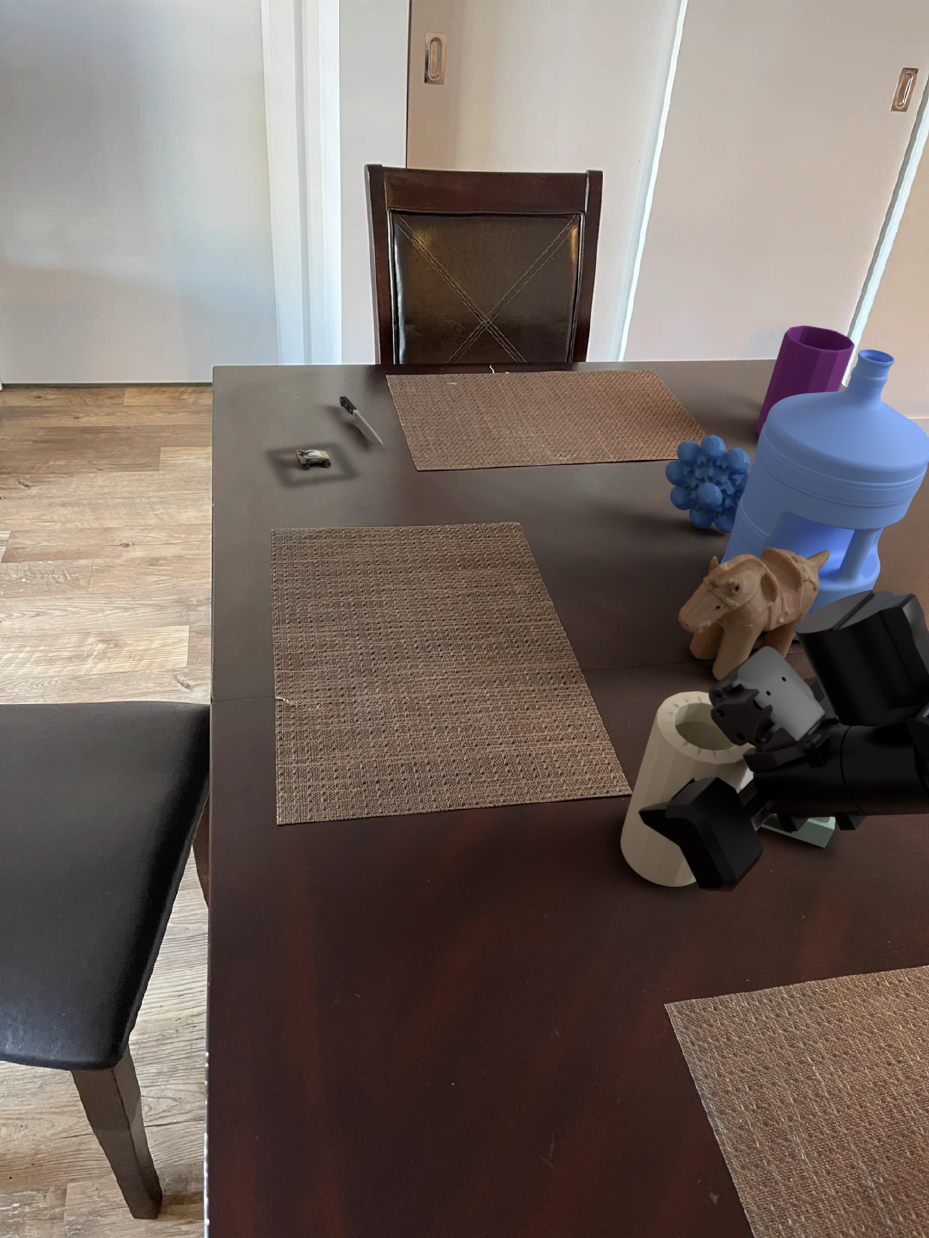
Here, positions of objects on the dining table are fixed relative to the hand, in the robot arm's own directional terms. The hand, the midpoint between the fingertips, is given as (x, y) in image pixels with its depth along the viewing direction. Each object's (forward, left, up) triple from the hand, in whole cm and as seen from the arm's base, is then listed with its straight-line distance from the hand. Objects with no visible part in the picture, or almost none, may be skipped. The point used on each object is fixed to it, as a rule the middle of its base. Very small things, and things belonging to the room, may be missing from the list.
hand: (677, 783), depth 68 cm
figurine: (+4, -25, -7) cm, 26 cm away
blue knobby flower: (+16, -46, -7) cm, 49 cm away
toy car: (+61, -27, -7) cm, 67 cm away
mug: (+17, -81, -7) cm, 83 cm away
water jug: (+3, -39, -7) cm, 40 cm away
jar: (-1, 0, -7) cm, 7 cm away
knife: (+62, -38, -7) cm, 73 cm away
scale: (-5, -12, -7) cm, 15 cm away
